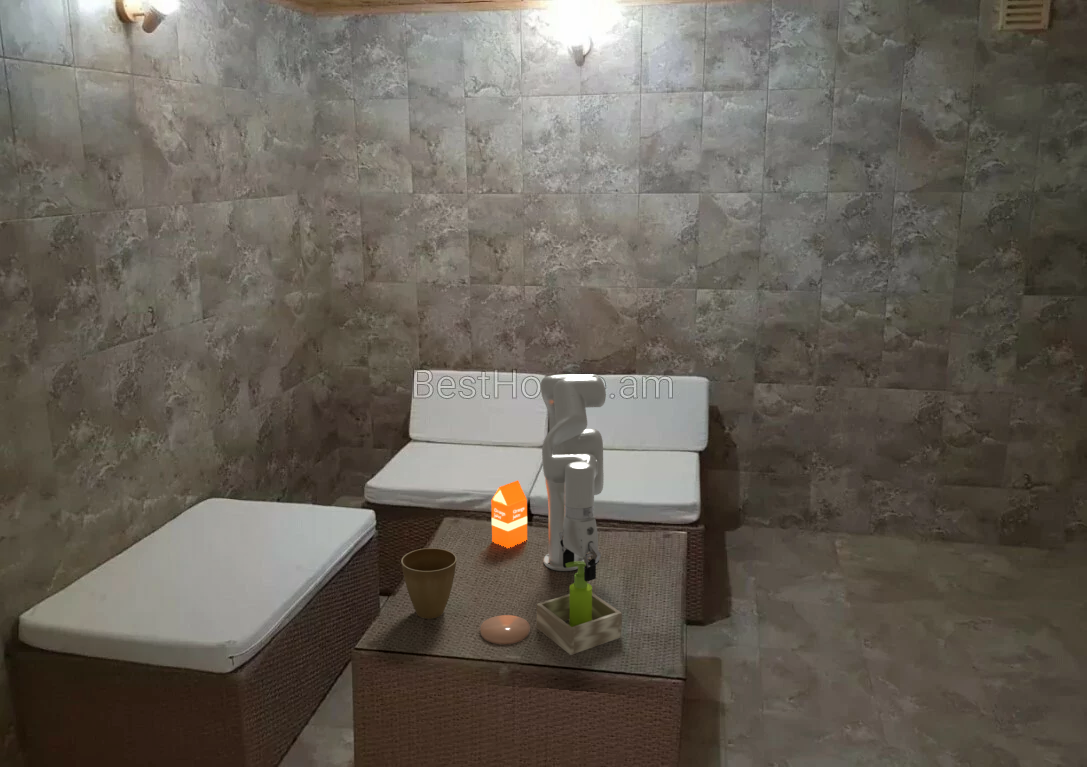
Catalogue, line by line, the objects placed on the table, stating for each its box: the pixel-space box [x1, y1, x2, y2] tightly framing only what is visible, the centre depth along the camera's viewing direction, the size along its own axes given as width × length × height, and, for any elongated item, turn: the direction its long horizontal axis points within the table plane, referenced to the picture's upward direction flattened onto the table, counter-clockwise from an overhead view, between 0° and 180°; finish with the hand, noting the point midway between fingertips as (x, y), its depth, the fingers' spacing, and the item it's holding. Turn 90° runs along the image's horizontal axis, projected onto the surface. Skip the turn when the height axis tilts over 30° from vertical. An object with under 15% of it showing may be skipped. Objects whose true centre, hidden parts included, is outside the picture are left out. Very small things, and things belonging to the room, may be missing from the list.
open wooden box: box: [536, 592, 623, 656], centre depth 237 cm, size 16×16×7 cm
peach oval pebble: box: [479, 614, 531, 645], centre depth 239 cm, size 13×13×1 cm
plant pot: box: [400, 547, 458, 620], centre depth 247 cm, size 15×15×16 cm
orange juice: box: [490, 479, 528, 549], centre depth 292 cm, size 8×9×20 cm
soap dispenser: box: [566, 561, 593, 627], centre depth 235 cm, size 6×7×20 cm
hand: (579, 573), depth 233 cm, fingers open, 9 cm apart
